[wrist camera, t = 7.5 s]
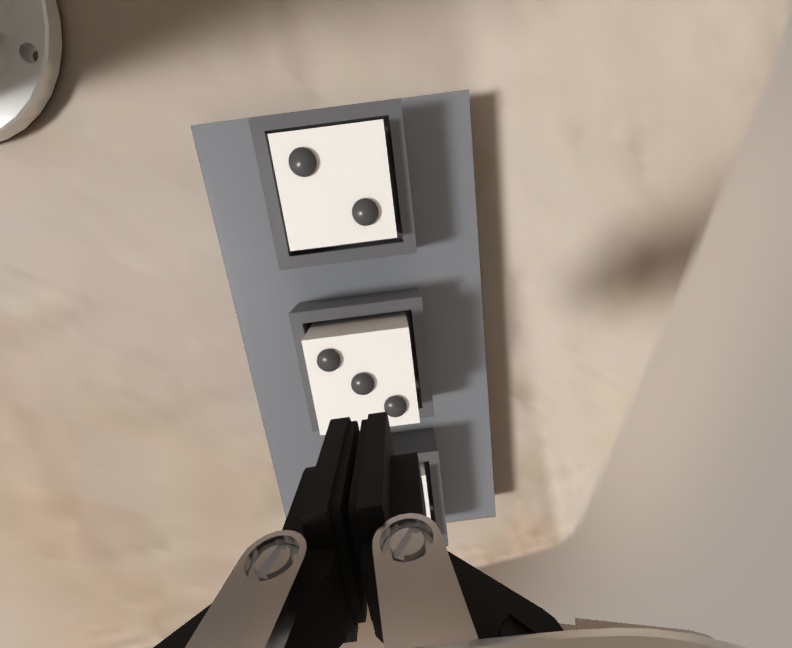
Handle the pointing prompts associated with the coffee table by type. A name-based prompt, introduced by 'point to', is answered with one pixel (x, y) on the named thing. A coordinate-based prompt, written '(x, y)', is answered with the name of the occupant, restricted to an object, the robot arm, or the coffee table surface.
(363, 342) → the three-dot tile
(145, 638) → the coffee table surface
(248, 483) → the coffee table surface
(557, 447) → the coffee table surface
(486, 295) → the coffee table surface
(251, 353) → the key board
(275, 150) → the two-dot tile
